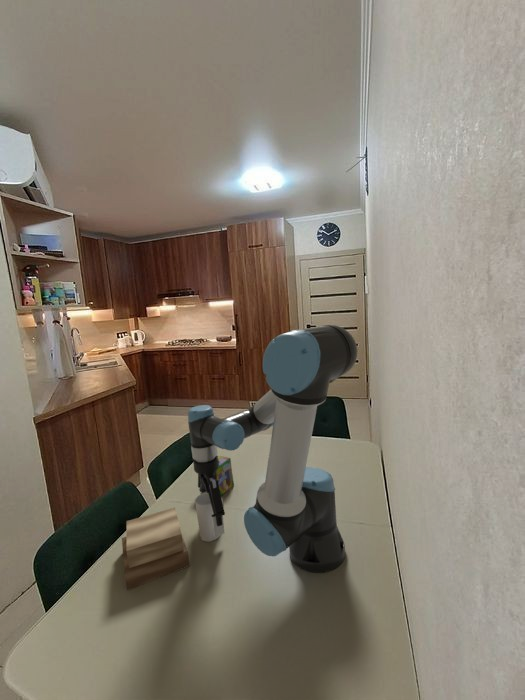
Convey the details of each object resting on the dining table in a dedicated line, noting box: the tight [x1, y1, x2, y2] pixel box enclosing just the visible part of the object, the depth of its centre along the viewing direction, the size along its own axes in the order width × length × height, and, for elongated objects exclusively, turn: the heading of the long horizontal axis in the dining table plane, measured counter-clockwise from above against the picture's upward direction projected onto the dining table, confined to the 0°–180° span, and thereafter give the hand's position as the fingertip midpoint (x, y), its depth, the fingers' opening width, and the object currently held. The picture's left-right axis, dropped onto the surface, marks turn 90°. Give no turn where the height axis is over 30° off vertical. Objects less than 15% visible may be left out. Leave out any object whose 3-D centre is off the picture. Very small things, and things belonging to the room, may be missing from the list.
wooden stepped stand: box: [121, 535, 191, 591], centre depth 98 cm, size 16×16×5 cm
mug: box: [194, 493, 224, 542], centre depth 107 cm, size 10×7×12 cm, turn 144°
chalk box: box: [209, 455, 235, 497], centre depth 132 cm, size 9×9×15 cm
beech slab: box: [126, 507, 184, 568], centre depth 98 cm, size 14×14×5 cm
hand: (212, 521), depth 107 cm, fingers open, 13 cm apart
